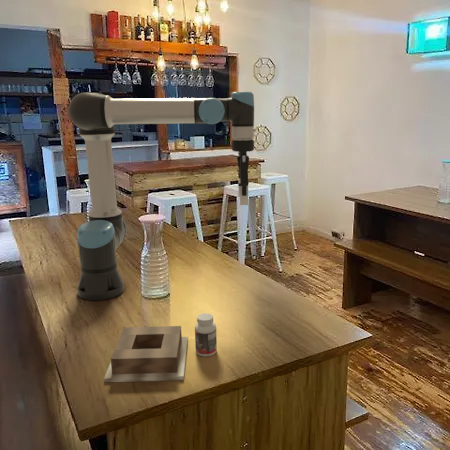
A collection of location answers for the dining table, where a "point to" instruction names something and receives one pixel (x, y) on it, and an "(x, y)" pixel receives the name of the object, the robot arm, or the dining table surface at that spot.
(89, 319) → the dining table surface
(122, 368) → the socket block
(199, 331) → the pill bottle
